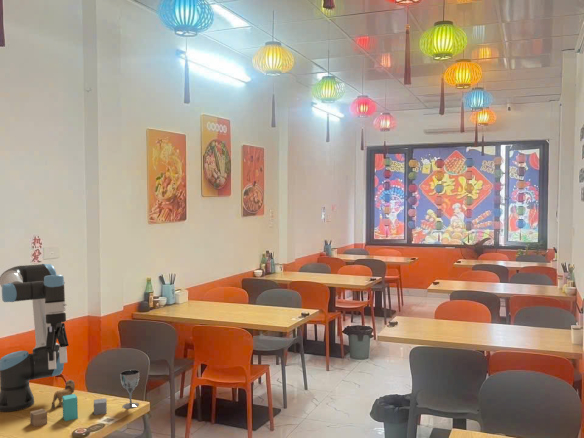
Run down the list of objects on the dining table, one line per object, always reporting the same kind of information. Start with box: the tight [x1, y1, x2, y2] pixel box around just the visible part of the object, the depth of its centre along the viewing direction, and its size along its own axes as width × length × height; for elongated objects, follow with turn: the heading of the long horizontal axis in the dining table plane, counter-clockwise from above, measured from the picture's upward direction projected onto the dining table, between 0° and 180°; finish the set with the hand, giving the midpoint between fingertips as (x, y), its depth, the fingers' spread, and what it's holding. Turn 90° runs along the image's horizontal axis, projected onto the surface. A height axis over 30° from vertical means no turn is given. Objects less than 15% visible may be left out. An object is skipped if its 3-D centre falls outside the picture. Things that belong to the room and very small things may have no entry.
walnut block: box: [29, 408, 48, 428], centre depth 222 cm, size 5×5×5 cm
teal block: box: [62, 393, 79, 422], centre depth 227 cm, size 5×5×9 cm
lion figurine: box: [51, 379, 76, 409], centre depth 244 cm, size 15×5×9 cm, turn 170°
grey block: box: [93, 397, 108, 416], centre depth 233 cm, size 5×5×5 cm
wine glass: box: [120, 369, 140, 410], centre depth 240 cm, size 8×8×15 cm
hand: (58, 365), depth 218 cm, fingers open, 13 cm apart
